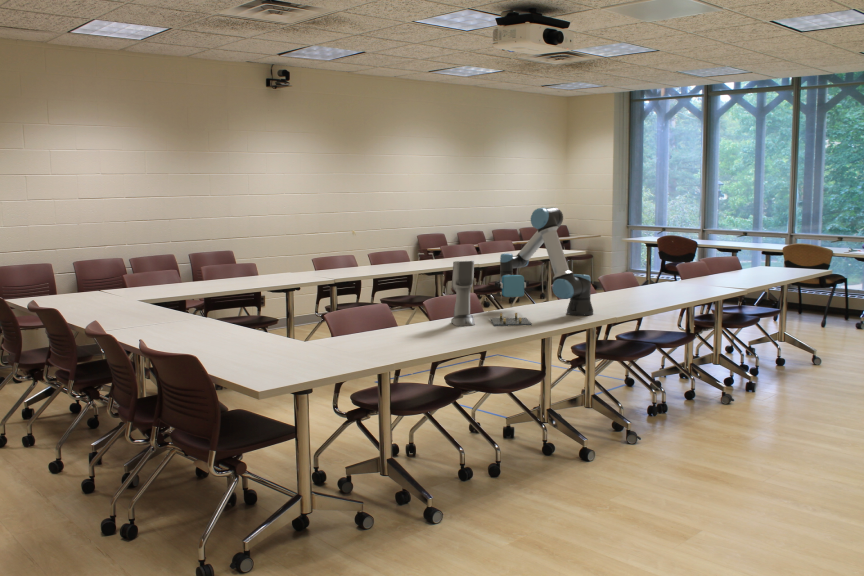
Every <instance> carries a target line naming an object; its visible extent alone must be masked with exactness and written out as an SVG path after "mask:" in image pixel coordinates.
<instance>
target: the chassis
mask: <svg viewBox="0 0 864 576" xmlns="http://www.w3.org/2000/svg"><path fill="white" fill-rule="evenodd" d="M489 321H490V322H491V323H492V325H493V327H509V326H508V325H531V326H532V323H531V321H530V320H529V319H528V318H527V317H518V312H515V313H514V317H503V313H502V312H500V313H499V317H495V318H493V317H491V318H490V319H489Z"/></svg>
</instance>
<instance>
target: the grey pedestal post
mask: <svg viewBox="0 0 864 576" xmlns="http://www.w3.org/2000/svg"><path fill="white" fill-rule="evenodd" d="M474 273H475V260H465V261H464V260H463V261H462V260H461V261H460V260H456V261H453V264H452V278H451V279H452V280H451V288H452V290H453V291H454V292H455V293H456V294H455V297H456V298H455V304H454V310H453V316H452V318H451V320H450V323H451V324H452V323H453V324H452V325H454V326H456V327H469V326H475V324H476V323H475V317H474V316H473V315H472V314H471V290H472V288H473V285H474V284H473V283H474V278H475V277H474V276H475V274H474Z"/></svg>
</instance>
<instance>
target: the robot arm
mask: <svg viewBox="0 0 864 576" xmlns="http://www.w3.org/2000/svg"><path fill="white" fill-rule="evenodd" d="M563 221H564V213H563V212H562V211H561V210H560V209H559V208H558V207H556V206H555V207H554V206H551V207H543V206H542V207H539V208H538V207H537V208H536V209H534V210H533V211H532V213H531V216H530V224H531V225H532V227H533V228H535V229H536V230H537V231H535V233H534V234H533V235H532V237H530V239H529V240H528V241H527V242H526V244H524V246H523V247H522V248H521V250H520V251H519V252H518V253H517V254H516V255H513V253H506V252H505V253H501V254H500V257H499V258H500V259H499V263H500V264H499V265H500V271H499V274H500V276H499V279H498V280H497V281H494V287H495V288H496V287H497V288H498V289H502V288H503V283H502V277H503V276H504V275H514V274H513V272H514V270H513V269H519V268H525V267H528V265H529V262H530V259H531V258H532V256H534V254H536V252H537V251H538V250H539V248H540V247H541V246H542V245H543V244H544V246H545V249H546V252H547V255H548V258H549V261H550V264H551V268H552V270H553V274H554V276H553V278H552V279H553V283H552V286H551V287H552V292H553V294H554V295H555V297H556V298H558V299H562V300H568V299H569V303H568V305H567V307H566V308H567V309H566V314H567V315H570V316H592V315H594V308H593V305H592V301H591V294H592V293H591V291H592V290H591V289H592V288H591V287H592V286H591V284H592V281H591V279H592V278H591V276H590V275H589V274H577V273H574V272H573V271H571V270H570V268H569V265H568V263H567V259H566V256H565V253H564V251H563V250H564V249H563V246H562V244H561V241H560V237H559V234H558V232H557V231H558V230H559V228H560V227H561V225H562V224H563V223H564V222H563ZM528 286H530V282H529V281H528V280H526V279H524V289H526V288H527V287H528Z"/></svg>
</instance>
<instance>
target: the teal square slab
mask: <svg viewBox="0 0 864 576" xmlns="http://www.w3.org/2000/svg"><path fill="white" fill-rule="evenodd" d="M524 281H525V277H524V276H523V275H521V274H513V275H504V276H503V277H502V283H503V288H501V295H502V296H503V297H505V298H516V297H519V298H521V297H523V296H524V295H525V288H524Z"/></svg>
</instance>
